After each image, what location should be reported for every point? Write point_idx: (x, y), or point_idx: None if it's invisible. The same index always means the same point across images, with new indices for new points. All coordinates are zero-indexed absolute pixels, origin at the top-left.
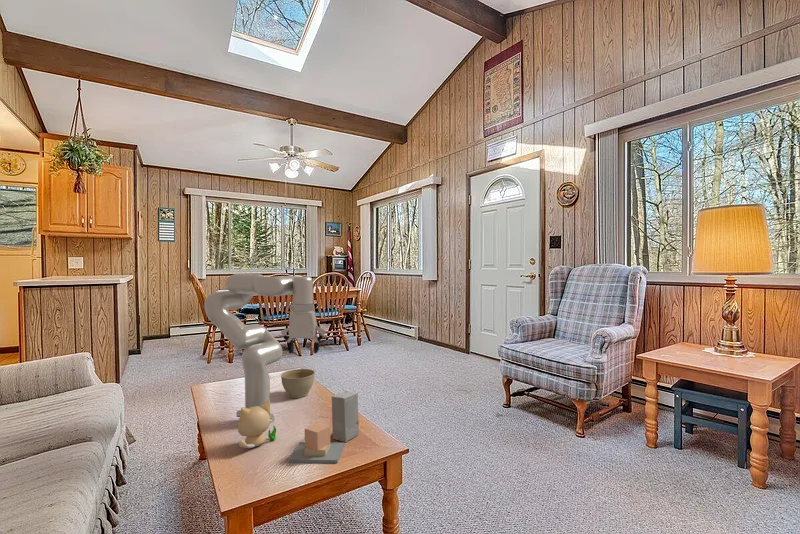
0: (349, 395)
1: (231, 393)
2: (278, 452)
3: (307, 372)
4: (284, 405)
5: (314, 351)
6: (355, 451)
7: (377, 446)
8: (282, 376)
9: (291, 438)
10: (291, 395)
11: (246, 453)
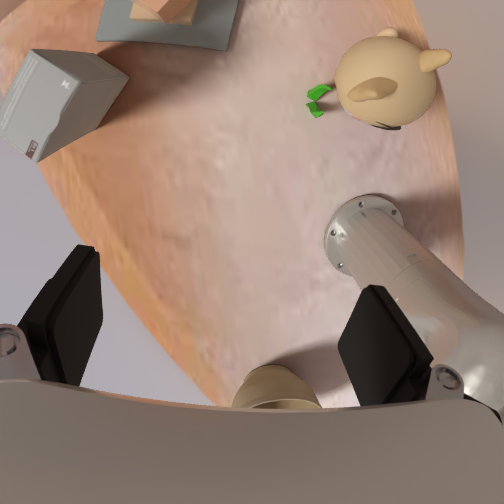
0: (13, 93)
1: None
2: (283, 21)
3: None
4: (300, 327)
5: (85, 253)
6: (73, 13)
7: (24, 44)
8: None
9: (257, 98)
10: (286, 370)
11: None
